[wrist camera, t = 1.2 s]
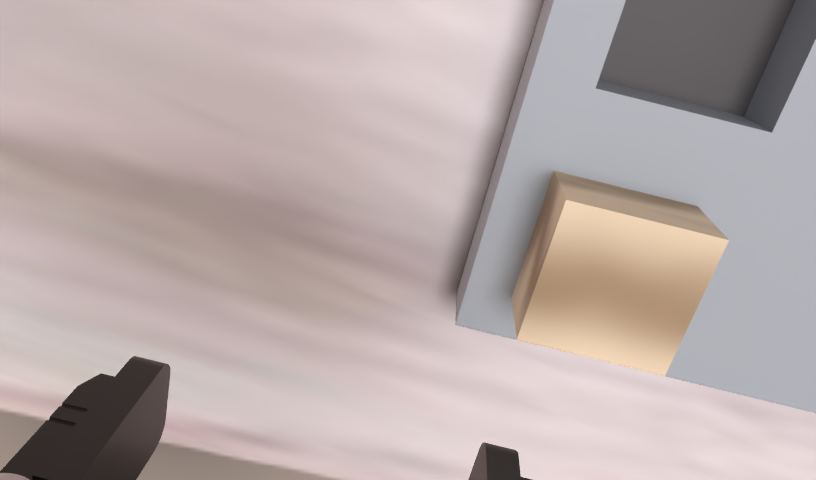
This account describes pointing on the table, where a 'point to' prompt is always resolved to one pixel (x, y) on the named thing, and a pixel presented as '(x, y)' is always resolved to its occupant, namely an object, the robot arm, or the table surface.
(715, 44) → the board
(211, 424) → the table surface
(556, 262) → the beech block
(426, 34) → the table surface
